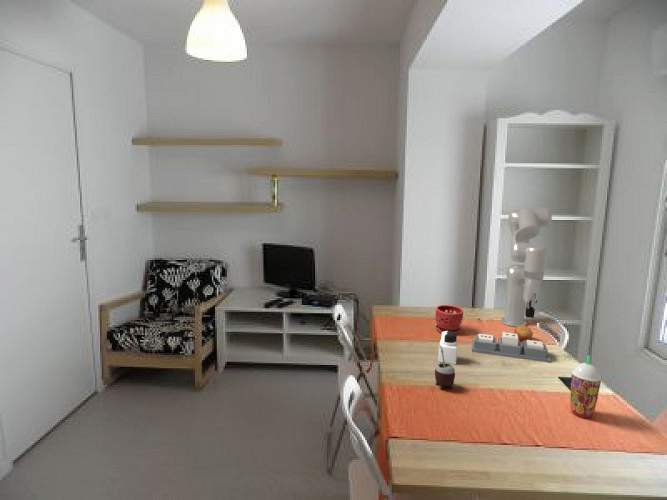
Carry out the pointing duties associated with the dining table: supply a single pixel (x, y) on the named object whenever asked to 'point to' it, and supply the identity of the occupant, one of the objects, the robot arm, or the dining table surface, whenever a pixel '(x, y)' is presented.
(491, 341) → the three dot tile
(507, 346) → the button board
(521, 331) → the fruit
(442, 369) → the mate gourd
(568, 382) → the smartphone
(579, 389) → the smoothie
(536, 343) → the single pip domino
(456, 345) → the medicine bottle
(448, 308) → the plant pot
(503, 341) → the two dot tile
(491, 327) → the dining table surface
